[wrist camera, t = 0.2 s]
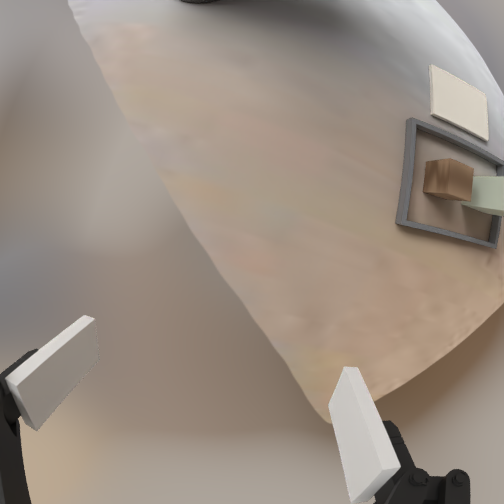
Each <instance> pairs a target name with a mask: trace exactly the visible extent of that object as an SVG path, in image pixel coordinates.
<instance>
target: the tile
mask: <svg viewBox="0 0 504 504" xmlns="http://www.w3.org/2000/svg"><path fill="white" fill-rule="evenodd" d="M429 78H430V104H431V115H433V116H435V117H437V118H440V119H442V120H444V121H446V122H448V123H450V124H453V125H455V126H457V127H459V128H461V129H463V130H465V131H467V132H469V133H471V134H473V135H474V136H476V137H478V138H480V139H482V140H484V141H489V139H488V114H487V102H486V94H484V93H483V92H481V91H479V90H478V89H476V88H475V87H473V86H471V85H470V84H468V83H466V82H464V81H463V80H461V79H459V78H457V77H455V76H454V75H452V74H450V73H448V72H446V71H444V70H442V69H440V68H438V67H436V66H434V65H432V64H431V65H429Z"/></svg>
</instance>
